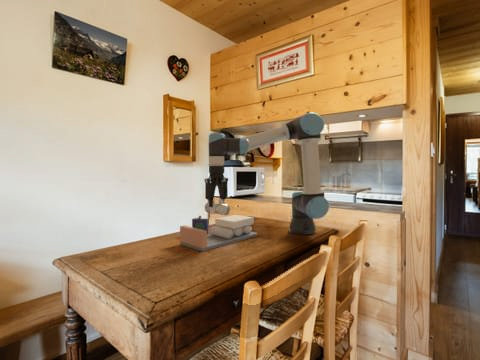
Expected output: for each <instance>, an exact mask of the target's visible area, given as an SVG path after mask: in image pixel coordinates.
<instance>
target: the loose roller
mask: <svg viewBox="0 0 480 360" xmlns="http://www.w3.org/2000/svg"><path fill="white" fill-rule="evenodd" d="M204 210H205V212H206V213H209V214H210V207H209V201H208V202H206V203H205V205H204ZM230 211H231V207H230V206H229V204H225V203H224V204H219V203H217V202H215V214H214V215H223V216H229V214H230Z"/></svg>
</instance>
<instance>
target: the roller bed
mask: <svg viewBox="0 0 480 360" xmlns="http://www.w3.org/2000/svg"><path fill="white" fill-rule="evenodd" d="M252 230H253V228H252V224H251V225H247V226H243V227H239V228H234V229H232V228H227V227H222V226H218V225H211V226H210V228H209V233H208V235H207V231H206V230H201V229H197V228H193V227H192V226H188V225H180V226H179V238H180V245H182V246H185V247H188V248H190V249H194V250H197V251H200V252H207V251H210V250H213V249H217V248H220V247H224V246H228V245H231V244H234V243H238V242H241V241H245V240H248V239H253V238H255V237H256V238H257V237H259V233H258V232H254V231H252Z"/></svg>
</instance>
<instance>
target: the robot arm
mask: <svg viewBox="0 0 480 360" xmlns="http://www.w3.org/2000/svg"><path fill="white" fill-rule="evenodd" d="M324 126H325V121H324V119H323V117H322V116H320V114H318V113H316V112H308V113H307V112H306V113H304V114H303V115H300V116H298V117H296V118H294V119H293V120H291V121H289V122H286V123H282V124H281V126H279V127H275V128H271V129H268V130H265V131H260V132H258V133H254V134H251V135H250V134H249V135H246V136H243V137H225V134H224V133H221V132H213V133H210V134H209V135H208V165H209V166H208V173H209V176H208V178H204V184H205V186H204V187H205V188H204V189H205V190H204V191H205V193H204V194H205V195H204V196H205V200H207V201H208V202H209V207H210V213H209V214H210V215H211V214H212V215H216V214H215V203H216V200H215V194H216V188H217V189H218V195H219V199H218V204H225V200H226V199H227V198H228V197H229V196H228V182H229V178H228V177H225V176H224V174H225V166H224V165H225V154H227V155H229V156H235V155H238V154H240V155H241V154H242V155H243V154H247V153H248V152H249V151H251V150H254V149H257V148H260V147H261V148H262V147H264V146H268V145H272V144H275V143H278V142H282V141H286V142H288V141H292V140H297V142H298V143H299V144H300V148H301V150H300V153H301V164H302V177H303V178H302V179H303V190H302V191H295V192H293V193H292V195H291V216H292V217H291V221H290V223H289V226H288V227H289V228H288V231H289V233H291V234H296V235H303V236H304V235H313V234H316V233H317V227H316V225H315V221H314V220H318V219H322V218H324V217H325V216H326V215H327V214H328V212H329V209H330V205H329V201H328V200H327V199H326V198H325V191H324V190H323V189H322V187H321V186H322V185H321V170H320V168H321V167H320V155H319V153H320V152H319V142H320V141H321V138H322V136H321V133H322V132H323V130H324V128H325V127H324Z"/></svg>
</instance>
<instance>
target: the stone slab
mask: <svg viewBox="0 0 480 360" xmlns="http://www.w3.org/2000/svg"><path fill="white" fill-rule="evenodd" d="M214 220H215V221H214V223H215V225H214V226H218V227H220V226H222V227H227V228H232V229H234V228H239V227H243V226H247V225H251V226H252V225H254V224H255V217H253V216H247V215H241V214H233V215H232V214H231V215H226V216H222V217H216V218H214Z"/></svg>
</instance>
